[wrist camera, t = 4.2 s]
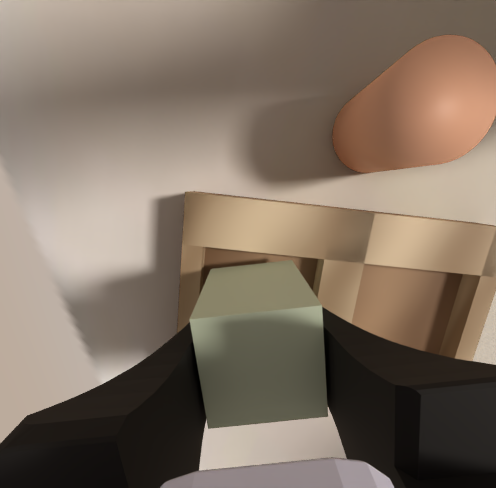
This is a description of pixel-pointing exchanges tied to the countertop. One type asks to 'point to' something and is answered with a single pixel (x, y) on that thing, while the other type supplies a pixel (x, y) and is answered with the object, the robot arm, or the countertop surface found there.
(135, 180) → the countertop surface
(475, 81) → the terracotta dowel
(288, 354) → the sage cube
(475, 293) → the pocket board
